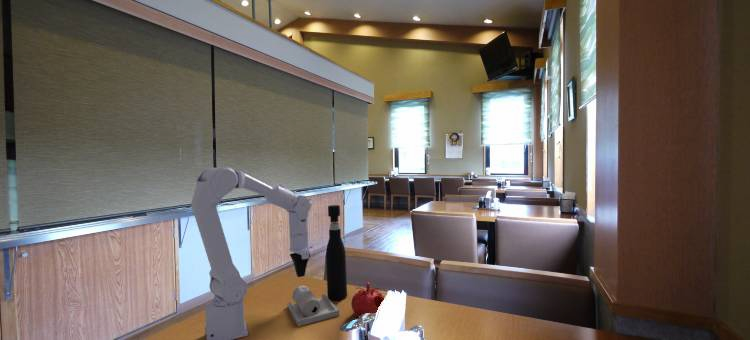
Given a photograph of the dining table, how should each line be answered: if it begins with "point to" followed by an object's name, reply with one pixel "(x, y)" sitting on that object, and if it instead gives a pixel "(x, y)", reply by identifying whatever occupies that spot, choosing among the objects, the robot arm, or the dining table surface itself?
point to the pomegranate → (366, 301)
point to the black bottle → (335, 258)
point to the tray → (325, 312)
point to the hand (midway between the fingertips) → (300, 276)
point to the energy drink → (306, 301)
